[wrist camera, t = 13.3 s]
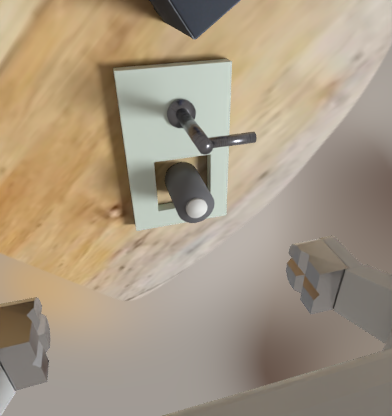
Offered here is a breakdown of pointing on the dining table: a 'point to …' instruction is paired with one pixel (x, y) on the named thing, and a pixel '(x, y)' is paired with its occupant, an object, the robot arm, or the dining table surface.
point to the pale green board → (172, 129)
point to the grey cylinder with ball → (188, 192)
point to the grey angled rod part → (184, 118)
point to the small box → (192, 14)
